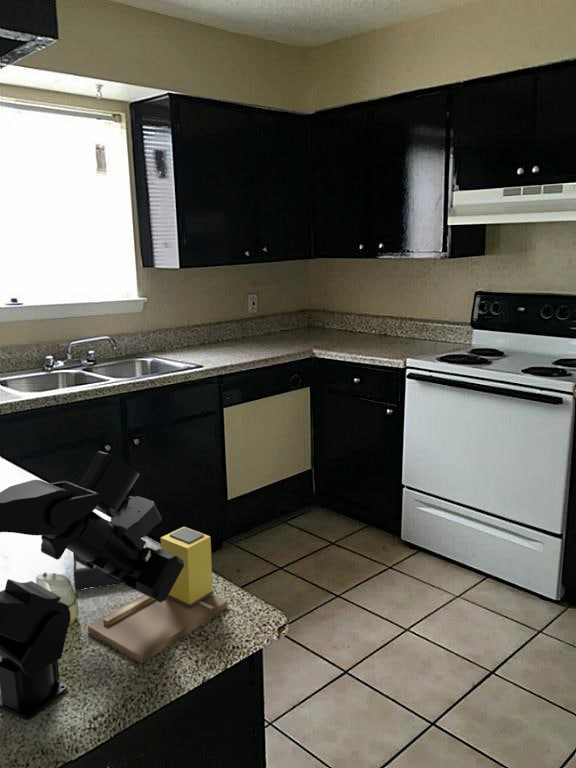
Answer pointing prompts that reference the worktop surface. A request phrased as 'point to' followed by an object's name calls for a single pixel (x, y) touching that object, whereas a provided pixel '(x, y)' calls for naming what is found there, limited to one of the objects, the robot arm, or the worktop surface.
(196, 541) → the yellow pillar grey top
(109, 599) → the worktop surface
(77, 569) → the red and grey box
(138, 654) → the subfloor panel
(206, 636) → the worktop surface
